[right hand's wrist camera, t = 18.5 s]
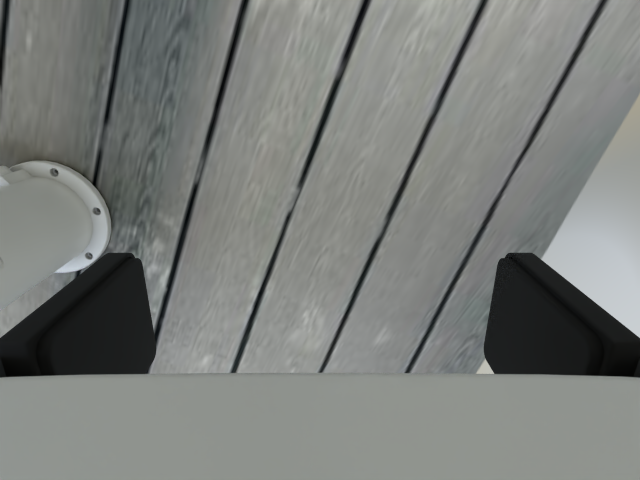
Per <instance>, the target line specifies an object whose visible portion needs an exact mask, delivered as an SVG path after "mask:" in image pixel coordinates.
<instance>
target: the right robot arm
mask: <svg viewBox="0 0 640 480" xmlns="http://www.w3.org/2000/svg"><path fill="white" fill-rule="evenodd" d="M99 209H100V210H99ZM110 235H111V219H110V214H109V210H108V208H107V206H106V203H105V201H104V199H103V198H102V196H101V195H100V193H99V191H98V190H97V189H96V188H95V187H94V186H93V185H92V183H91V182H90V181H89V180H87V179H86V178H85V177H84V176H82V175H81V174H80V173H78V172H76V171H75V170H73V169H71V168H69V167H67V166H64V165H62V164H59V163H55V162H50V161H29V162H24V163H21V164H17V165H14V166H12V167H10V168H7V167H6V166H5V165H4V166H0V311H1V310H2V309H3V308H5V307H6V306H8V305H9V304H10V303H12V302H13V301H15V300H16V299H17V298H19V297H20V296H22V295H23V294H24V293H26V292H27V291H29V290H30V289H31V288H33V287H34V286H36V285H37V284H38V283H40V282H41V281H43V280H44V279H45V278H47V277H48V276H50V275H51V274H53V273H54V272H55V273H68V272H73V271H78V270H80V269H83V268H85V267H87V266H88V265H90V264H91V263H93V262H94V261H95V260H97V259H98V258H99V257H100V256H101V255H102V253H103V252H104V251H105V249H106V247H107V245H108V243H109V240H110ZM155 355H156V342H155V336H154V330H153V325H152V319H151V313H150V307H149V301H148V295H147V289H146V283H145V277H144V271H143V265H142V262H141V260H140V259H139V258H135V257H134V255H133V254H132V253H107V254H106V255H104V256H103V257H102V258H100V259H99V260H98V261H97V262H95V263H94V264H93V265H92V266H90V267H89V268H88V269H87V270H85V271H84V272H83V273H82V274H80V275H79V276H78V277H77V278H75V279H74V280H73V281H72V282H70V283H69V284H68V285H67V286H65V287H64V288H63V289H61V290H60V291H59V292H58V293H56V294H55V295H54V296H53V297H51V298H50V299H49V300H48V301H46V302H45V303H44V304H43V305H41V306H40V307H39V308H38V309H36V310H35V311H34V312H33V313H31V314H30V315H29V316H27V317H26V318H25V319H24V320H22V321H21V322H20V323H19V324H17V325H16V326H15V327H14V328H12V329H11V330H10V331H9V332H7V333H6V334H5V335H4V336H2V337H1V338H0V480H640V338H639V337H638V336H636V335H635V334H634V333H633V332H631V331H630V330H629V329H628V328H626V327H625V326H624V325H622V324H621V323H620V322H619V321H618V320H616V319H615V318H614V317H613V316H611V315H610V314H609V313H607V312H606V311H605V310H604V309H602V308H601V307H600V306H599V305H597V304H596V303H595V302H594V301H592V300H591V299H590V298H589V297H587V296H586V295H585V294H584V293H582V292H581V291H580V290H579V289H577V288H576V287H575V286H573V285H572V284H571V283H570V282H568V281H567V280H566V279H565V278H563V277H562V276H561V275H560V274H558V273H557V272H556V271H555V270H553V269H552V268H551V267H550V266H548V265H547V264H546V263H545V262H543V261H542V260H541V259H539V258H538V257H537V256H536V255H534V254H533V253H508V254H507V255H506V257H505V258H501V259H500V260H499V262H498V265H497V271H496V277H495V283H494V289H493V295H492V301H491V307H490V313H489V319H488V325H487V330H486V336H485V342H484V355H485V358H486V360H487V362H488V364H489V365H490V367H491V369H492V370H493V372H494V374H428V373H201V374H146V372H147V370H148V369H149V367H150V365H151V364H152V362H153V360H154V358H155Z"/></svg>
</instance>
